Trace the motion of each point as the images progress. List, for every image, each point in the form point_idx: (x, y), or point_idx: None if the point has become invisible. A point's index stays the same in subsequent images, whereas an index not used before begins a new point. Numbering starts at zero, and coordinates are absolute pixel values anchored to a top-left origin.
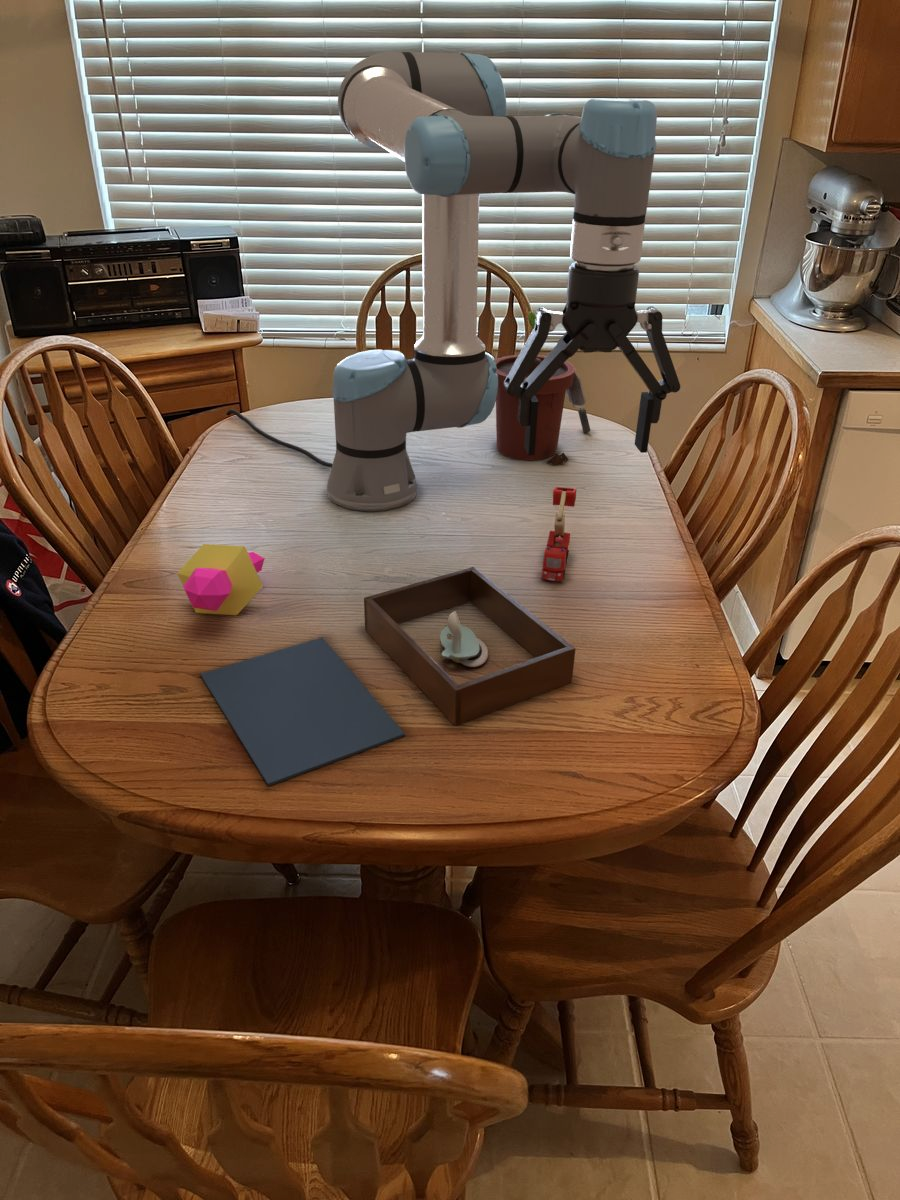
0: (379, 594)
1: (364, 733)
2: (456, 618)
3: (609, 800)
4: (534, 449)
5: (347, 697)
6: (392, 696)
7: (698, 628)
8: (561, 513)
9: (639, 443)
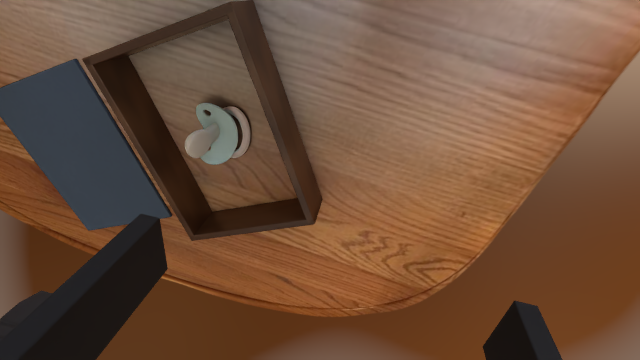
0: (99, 56)
1: (141, 208)
2: (191, 155)
3: (300, 302)
4: (155, 281)
5: (120, 164)
6: None
7: (523, 157)
8: None
9: (499, 351)
